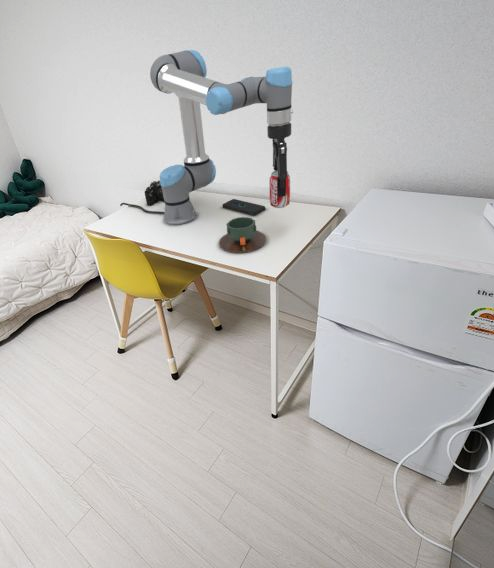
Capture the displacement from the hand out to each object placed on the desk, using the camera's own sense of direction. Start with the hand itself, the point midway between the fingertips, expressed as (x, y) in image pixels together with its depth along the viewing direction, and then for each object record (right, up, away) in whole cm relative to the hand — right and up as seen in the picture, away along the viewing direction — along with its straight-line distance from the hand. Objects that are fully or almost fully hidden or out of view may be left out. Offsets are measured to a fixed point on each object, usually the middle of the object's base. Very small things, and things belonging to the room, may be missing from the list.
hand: (279, 192), depth 125 cm
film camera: (-47, +13, +66) cm, 82 cm away
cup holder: (-12, -15, +8) cm, 21 cm away
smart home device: (-7, +2, +38) cm, 38 cm away
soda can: (+1, -4, +3) cm, 5 cm away
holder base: (-12, -16, +11) cm, 23 cm away
